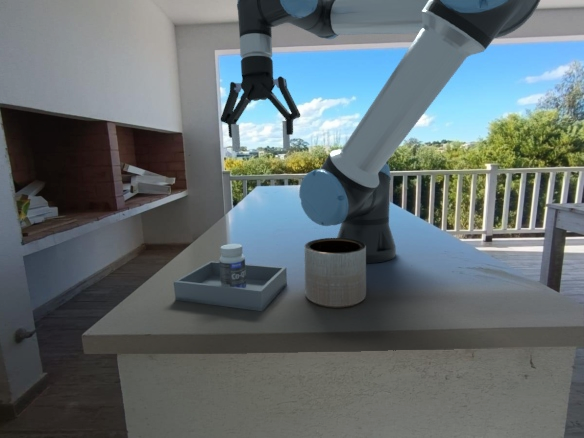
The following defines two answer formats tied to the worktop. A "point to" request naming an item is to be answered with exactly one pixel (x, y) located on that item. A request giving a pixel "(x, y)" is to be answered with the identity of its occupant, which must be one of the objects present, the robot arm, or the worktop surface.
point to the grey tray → (209, 290)
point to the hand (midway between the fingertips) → (261, 150)
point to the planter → (335, 272)
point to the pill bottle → (232, 266)
